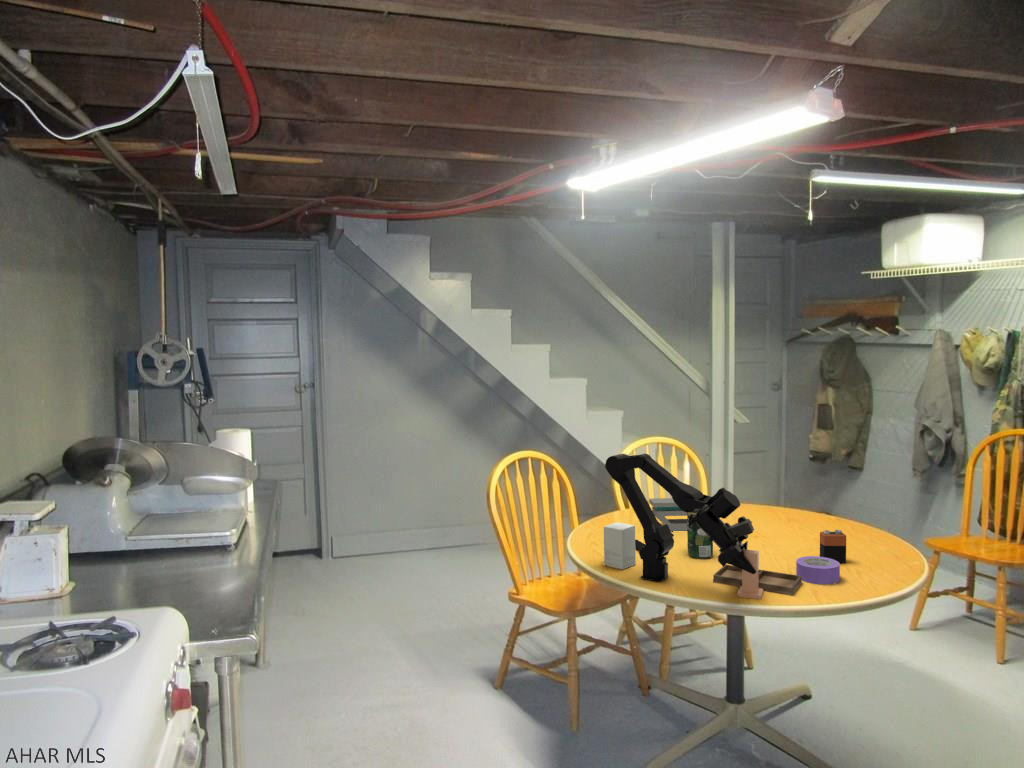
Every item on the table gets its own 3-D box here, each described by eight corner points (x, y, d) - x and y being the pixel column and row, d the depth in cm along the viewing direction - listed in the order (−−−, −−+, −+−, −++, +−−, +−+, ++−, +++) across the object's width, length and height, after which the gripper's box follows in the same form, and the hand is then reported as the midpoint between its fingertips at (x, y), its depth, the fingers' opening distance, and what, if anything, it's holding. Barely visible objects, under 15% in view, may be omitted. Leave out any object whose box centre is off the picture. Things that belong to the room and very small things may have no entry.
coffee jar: (685, 550, 239) (685, 496, 238) (709, 551, 239) (709, 496, 238) (689, 559, 230) (689, 502, 229) (715, 559, 229) (714, 502, 228)
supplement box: (636, 564, 225) (636, 525, 224) (622, 570, 220) (622, 529, 219) (617, 560, 230) (617, 521, 230) (603, 565, 225) (602, 525, 224)
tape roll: (804, 585, 204) (804, 568, 204) (790, 572, 216) (790, 556, 216) (846, 585, 204) (846, 567, 203) (830, 572, 215) (830, 555, 215)
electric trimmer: (641, 547, 246) (641, 538, 246) (661, 559, 231) (661, 549, 231) (631, 548, 245) (630, 539, 245) (650, 560, 230) (650, 551, 230)
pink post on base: (737, 596, 195) (737, 553, 195) (740, 589, 201) (740, 547, 200) (760, 599, 193) (760, 555, 192) (763, 592, 198) (763, 549, 198)
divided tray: (713, 581, 208) (713, 575, 208) (725, 570, 218) (725, 564, 217) (792, 595, 195) (792, 588, 195) (801, 582, 205) (801, 576, 205)
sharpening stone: (714, 525, 272) (714, 497, 271) (721, 530, 264) (720, 501, 264) (649, 526, 272) (649, 498, 271) (653, 532, 264) (653, 503, 263)
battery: (846, 563, 223) (846, 532, 222) (824, 563, 223) (824, 532, 223) (841, 559, 227) (841, 528, 226) (819, 559, 227) (819, 528, 227)
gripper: (730, 516, 189) (774, 562, 185) (740, 502, 206) (781, 544, 202) (700, 543, 193) (742, 588, 189) (712, 527, 210) (751, 568, 205)
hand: (755, 571), depth 196 cm, fingers closed on pink post on base, 3 cm apart
